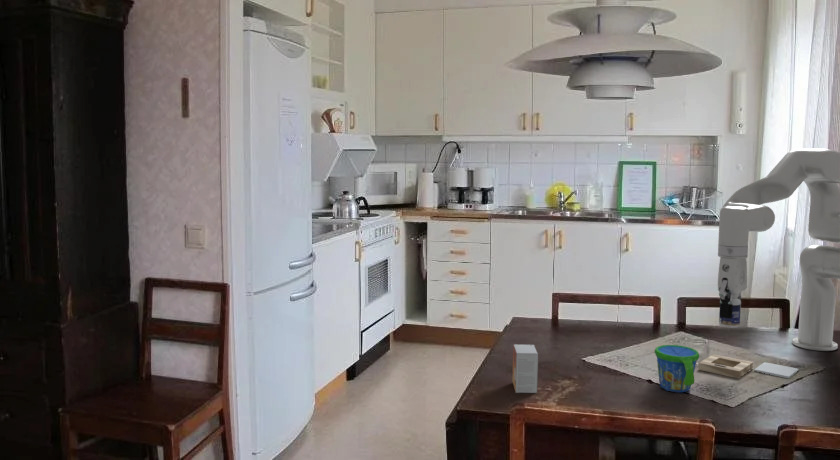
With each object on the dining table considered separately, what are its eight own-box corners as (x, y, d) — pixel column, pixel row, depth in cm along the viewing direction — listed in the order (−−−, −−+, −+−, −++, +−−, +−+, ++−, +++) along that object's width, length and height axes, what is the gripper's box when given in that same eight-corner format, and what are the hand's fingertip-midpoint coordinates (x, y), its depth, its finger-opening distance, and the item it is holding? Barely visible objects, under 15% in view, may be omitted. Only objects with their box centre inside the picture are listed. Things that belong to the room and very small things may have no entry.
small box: (512, 382, 194) (512, 343, 193) (533, 382, 194) (534, 344, 192) (515, 393, 186) (515, 352, 185) (537, 393, 186) (538, 353, 184)
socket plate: (713, 360, 213) (713, 353, 213) (752, 369, 206) (753, 361, 206) (698, 369, 205) (698, 362, 205) (739, 378, 198) (739, 370, 198)
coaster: (764, 364, 210) (764, 362, 210) (798, 370, 204) (798, 368, 204) (754, 371, 204) (754, 369, 204) (788, 378, 198) (789, 376, 198)
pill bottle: (720, 327, 202) (722, 293, 201) (717, 322, 207) (718, 288, 206) (741, 328, 201) (743, 294, 200) (737, 323, 206) (739, 289, 205)
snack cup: (706, 399, 182) (709, 359, 181) (664, 399, 182) (666, 359, 181) (684, 378, 198) (686, 342, 196) (645, 378, 198) (647, 341, 196)
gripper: (735, 257, 193) (732, 324, 195) (757, 248, 205) (754, 311, 208) (707, 254, 198) (704, 319, 200) (729, 246, 210) (727, 307, 213)
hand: (729, 314), depth 204 cm, fingers closed on pill bottle, 5 cm apart
